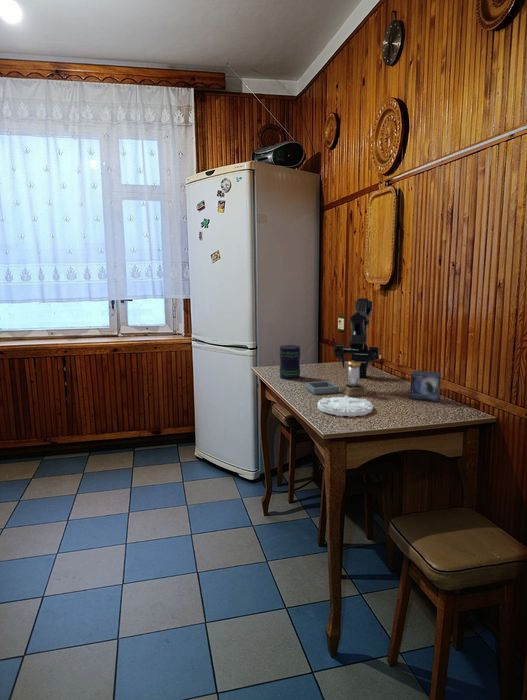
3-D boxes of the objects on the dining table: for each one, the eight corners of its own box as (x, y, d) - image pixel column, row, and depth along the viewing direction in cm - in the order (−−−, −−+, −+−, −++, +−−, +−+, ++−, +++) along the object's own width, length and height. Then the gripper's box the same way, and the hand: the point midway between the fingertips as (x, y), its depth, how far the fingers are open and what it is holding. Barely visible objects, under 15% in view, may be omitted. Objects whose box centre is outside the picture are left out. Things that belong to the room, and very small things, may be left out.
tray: (304, 388, 203) (304, 382, 202) (328, 386, 206) (328, 381, 205) (313, 394, 192) (313, 388, 192) (338, 392, 195) (338, 386, 195)
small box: (409, 399, 184) (410, 373, 183) (412, 395, 190) (413, 370, 188) (437, 402, 179) (439, 375, 178) (439, 398, 185) (441, 372, 183)
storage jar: (300, 379, 219) (300, 348, 217) (279, 379, 220) (279, 348, 217) (299, 375, 229) (299, 345, 227) (279, 375, 229) (279, 345, 227)
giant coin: (379, 407, 175) (379, 399, 175) (362, 421, 158) (362, 413, 158) (329, 400, 185) (329, 393, 185) (308, 412, 168) (308, 404, 168)
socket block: (340, 391, 197) (340, 384, 196) (357, 390, 199) (358, 383, 198) (348, 396, 189) (348, 389, 189) (366, 394, 191) (366, 387, 191)
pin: (344, 392, 196) (345, 361, 194) (356, 391, 197) (357, 360, 195) (350, 395, 191) (350, 364, 189) (362, 394, 192) (363, 363, 190)
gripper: (334, 326, 200) (330, 356, 192) (379, 327, 195) (377, 358, 186) (336, 342, 209) (332, 371, 200) (379, 343, 204) (377, 373, 195)
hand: (354, 368), depth 195 cm, fingers open, 9 cm apart
